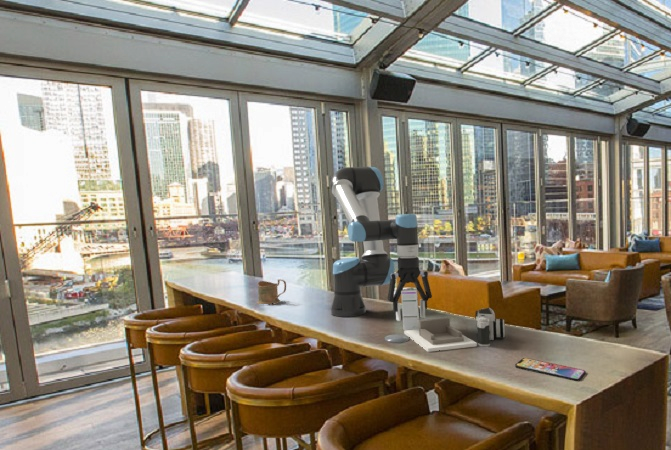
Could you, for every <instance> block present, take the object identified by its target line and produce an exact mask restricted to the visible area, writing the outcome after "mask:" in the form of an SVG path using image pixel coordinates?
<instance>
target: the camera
mask: <svg viewBox="0 0 671 450" xmlns="http://www.w3.org/2000/svg"><path fill="white" fill-rule="evenodd" d="M474 316H475V318H474V319H475V320H476V323H477V325H476V328H477V346H481V347H489V346H491V341H494V338H502V339H504V338H506V337H505V335H506V330H505V319H503V318H496V313H495V312H494V310H493V309H492V308H491V307H486V308H480V309H478V310H475V315H474Z"/></svg>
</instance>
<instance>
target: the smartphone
mask: <svg viewBox="0 0 671 450" xmlns="http://www.w3.org/2000/svg"><path fill="white" fill-rule="evenodd" d="M514 366H515V368H516V369H520V370H524V371H528V372H534V373H538V374H540V375H541V374H542V375H547V376H550V377H551V376H552V377H555V378H560V379H564V380H565V379H566V380H568V381H569V380H570V381H574V382H580V381H581V380H582V379H583V377H585V375H586V370H584V369H582V368H575V367H571V366H566V365H562V364H559V363H558V364H557V363H551V362H548V361H544V360H538V359H533V358H529V357H523V358H521V359H520V360H519V361H517V362H516V363H515V365H514Z"/></svg>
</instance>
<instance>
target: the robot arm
mask: <svg viewBox="0 0 671 450" xmlns="http://www.w3.org/2000/svg"><path fill="white" fill-rule="evenodd" d="M329 187H330V191H331V193H332V194H331V195H333V196H334V198H336V199H337V201H338V202H339V204H340V207H341V210H342V211H343V213H344V214H345V215H344V216H345V217H346V219H347V221H348V225H347V236H348V239H349V240H350V241H351V242H356V243H357V242H358V243H362V242H363V243H362V244H363V251H364V252H363V254H362V255H361V259H360V257H357V256H353V257H346V258H340V259H338V260H336V261H334V263H333V264H332V277H333V299H332V303H331V306H330V314H331V315H332V316H335V317H341V318H342V317H347V318H348V317H359V316H362V315H365V314H367V307H366V303H365V301H364V299H363V296H362V288H369V287H376V286H378V287H380V286H381V287H382V286H385V285H389V288H388V293H387V300H388V301H389V302H391V303H392V310H393V311H394V313H395V320H396V321H397V322H401V321H402V319H401V318H402V317H401V316H402V315H401V303H400V302H399V300H400V297H401V291H402V290H403V288H405V285H406V284H409V283H413V284H414V286H415V288H417V293H418V294H419V296H420V297H421V299H419V312H420V313H419V318H421V319H422V320H426V309H428V301H429V299H432V297H433V294H432V291H431V287H430V283H429V278H428V276H429V275H428V273H429V272H428V271H426V270H420V259H419V236H418V235H419V234H418V231H419V230H418V226H419V225H418V224H419V223H418V218H417V215H416V214H415V213H405V214H404V213H403V214H401V213H399V214H397V215H395V219H386V220H385V219H382V220H381V218H380V210H379V202H378V198H379V197H380V195H381V192H382V191H383V188H384V177H383V174H382V172H381V170H380V169H379V168H377V167H374V166H372V167H371V166H355V167H354V166H352V167H349V166H348V167H347V166H346V167H342V168H340V169H338V170H337V171H336V172H335V173H334V174H333V175H332V177H331V179H330V183H329ZM388 240H389V241H391V240H392V241H393V240H396V252H397V254H396V255H397V271H396V272H395V268H396V267H395V263H394V260H393V259H392V258H391V257H389V254H388V252H387V251H385V250H384V249H385V248H384V242H383V241H388ZM419 276H420V277H421V281H422V284H423V287H424V289H423V287H422V284H421V283H420V281H419ZM398 278H399V281H398V285H397V287H396V284H397V283H396V282H397V279H398ZM395 289H396V290H395Z"/></svg>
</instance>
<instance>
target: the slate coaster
mask: <svg viewBox="0 0 671 450" xmlns="http://www.w3.org/2000/svg"><path fill="white" fill-rule="evenodd" d="M409 340H410V338H409V337H408V336H407V335H406V334H400V333H399V334H398V333H397V334H396V333H395V334H389V335H386V336H384V341H385V342H388V343H392V344H402V343H406V341H407V342H409Z"/></svg>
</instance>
